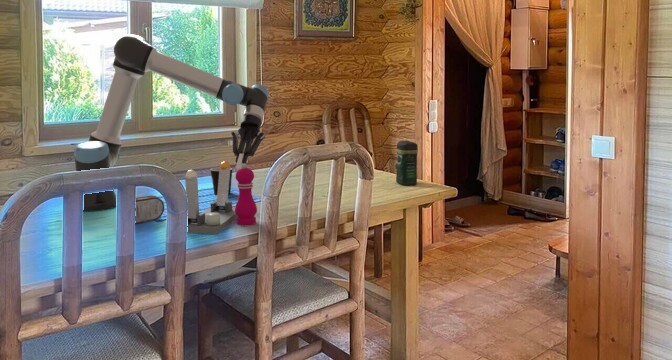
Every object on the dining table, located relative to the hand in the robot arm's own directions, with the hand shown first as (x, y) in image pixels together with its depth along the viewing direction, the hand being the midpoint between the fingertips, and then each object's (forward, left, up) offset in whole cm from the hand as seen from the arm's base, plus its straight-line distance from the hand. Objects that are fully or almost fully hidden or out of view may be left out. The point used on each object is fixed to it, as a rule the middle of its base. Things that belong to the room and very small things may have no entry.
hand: (238, 170), depth 221 cm
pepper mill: (+10, -22, -14) cm, 28 cm away
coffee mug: (-14, +20, -14) cm, 28 cm away
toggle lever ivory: (-4, -32, -10) cm, 34 cm away
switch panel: (-1, -23, -13) cm, 26 cm away
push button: (+3, -32, -11) cm, 34 cm away
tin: (-25, -26, -14) cm, 38 cm away
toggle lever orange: (-1, -16, -10) cm, 19 cm away
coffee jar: (+58, +50, -14) cm, 77 cm away
